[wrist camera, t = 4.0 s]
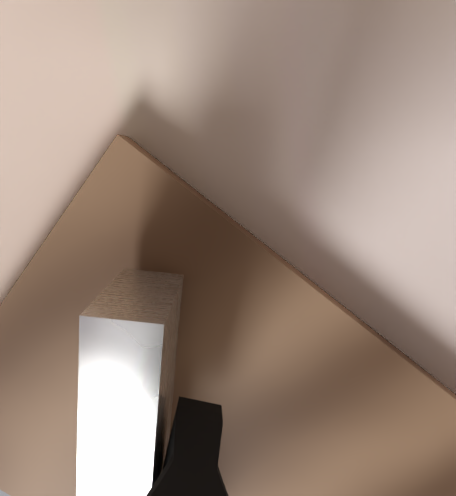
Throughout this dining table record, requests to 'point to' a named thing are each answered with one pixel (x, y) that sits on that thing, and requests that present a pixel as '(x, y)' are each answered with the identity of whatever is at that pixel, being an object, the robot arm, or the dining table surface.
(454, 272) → the dining table surface
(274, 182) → the dining table surface
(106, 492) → the lock bar
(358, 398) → the plate
